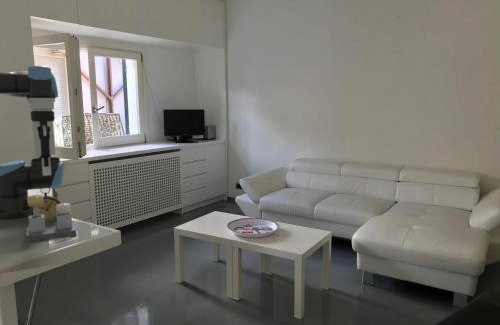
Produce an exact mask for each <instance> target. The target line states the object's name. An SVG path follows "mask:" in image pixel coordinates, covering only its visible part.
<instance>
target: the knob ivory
mask: <svg viewBox="0 0 500 325" xmlns="http://www.w3.org/2000/svg"><path fill="white" fill-rule="evenodd" d="M71 205H72V204H71V203H68V202H65V203H64V202H63V203H61V204H57V205H56V214H61V215H65V214H67V213H70V212H71V213H72V208H71V207H72V206H71Z"/></svg>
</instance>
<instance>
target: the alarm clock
mask: <svg viewBox="0 0 500 325" xmlns="http://www.w3.org/2000/svg"><path fill="white" fill-rule="evenodd" d="M43 187H45V186H43ZM43 187H42V188H43ZM46 187H48V186H46ZM42 188H41V189H40V192H41V194H43V195H42V196H43V205H40V206H39V213H40V215H42V214H44V217H45V224H51V223H57V218H56V205H57V204H62V203H61V201H60V200H59V198H57V197H54V196H53V195H47V194H49V193H50V192H51V188H49V187H48V188H47V189H48V191H47V192H45V191H44V192H43V191H42V190H43V189H42ZM31 213H32V214H31V216H33V206H32V209H31Z"/></svg>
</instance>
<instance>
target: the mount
mask: <svg viewBox="0 0 500 325" xmlns="http://www.w3.org/2000/svg"><path fill="white" fill-rule="evenodd" d="M56 218H57V221H56V222H55V223H51V224H45V217H44V214H42V215H40V217H38V218H34V216H32V215H28V226H27V228H26V236H25V238H26V241H25V242H26V243H30V242H31V243H32V242H38V241H44V240H45V241H46V240H51V239H61V238H66V237H74V236H75V237H76V236H77V228H76V225H75V221H74V220H73V218H72V211H71V212H70V213H67V214H65V215H61V214H56Z"/></svg>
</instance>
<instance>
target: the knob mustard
mask: <svg viewBox="0 0 500 325" xmlns="http://www.w3.org/2000/svg"><path fill="white" fill-rule="evenodd" d="M43 196H44V195H41V194H36V195H28V197H27V200H28V206H33V216H34V218H38V217H40V213H39V206H40V205H43Z"/></svg>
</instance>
